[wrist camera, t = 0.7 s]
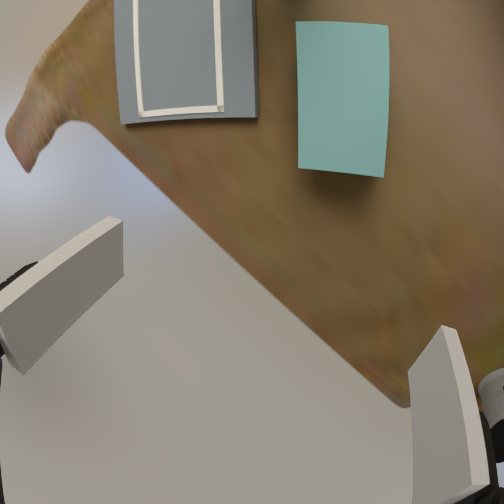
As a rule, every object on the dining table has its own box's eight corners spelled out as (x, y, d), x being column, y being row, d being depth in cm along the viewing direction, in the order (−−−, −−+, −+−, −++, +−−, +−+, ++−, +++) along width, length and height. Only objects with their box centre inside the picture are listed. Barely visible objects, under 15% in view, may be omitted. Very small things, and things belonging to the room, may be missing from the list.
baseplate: (253, -38, 24) (249, -42, 22) (258, 116, 34) (254, 117, 33) (119, -3, 30) (113, -3, 29) (126, 123, 40) (120, 124, 39)
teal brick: (384, 37, 25) (388, 25, 19) (381, 160, 32) (383, 177, 26) (309, 33, 27) (295, 21, 21) (311, 152, 34) (298, 168, 29)
